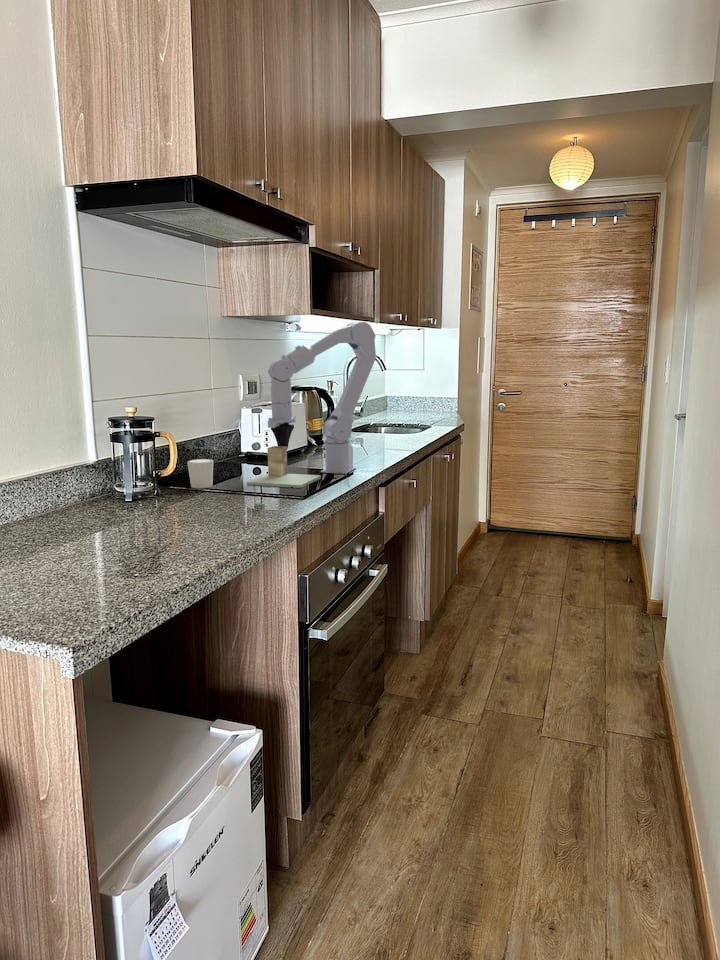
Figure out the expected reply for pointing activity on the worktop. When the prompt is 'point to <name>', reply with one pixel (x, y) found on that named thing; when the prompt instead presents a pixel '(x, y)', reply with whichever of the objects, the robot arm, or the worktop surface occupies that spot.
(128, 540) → the worktop surface
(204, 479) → the light grey cup
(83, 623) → the worktop surface
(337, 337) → the robot arm
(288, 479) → the cutting board
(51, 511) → the worktop surface
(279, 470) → the maple block
